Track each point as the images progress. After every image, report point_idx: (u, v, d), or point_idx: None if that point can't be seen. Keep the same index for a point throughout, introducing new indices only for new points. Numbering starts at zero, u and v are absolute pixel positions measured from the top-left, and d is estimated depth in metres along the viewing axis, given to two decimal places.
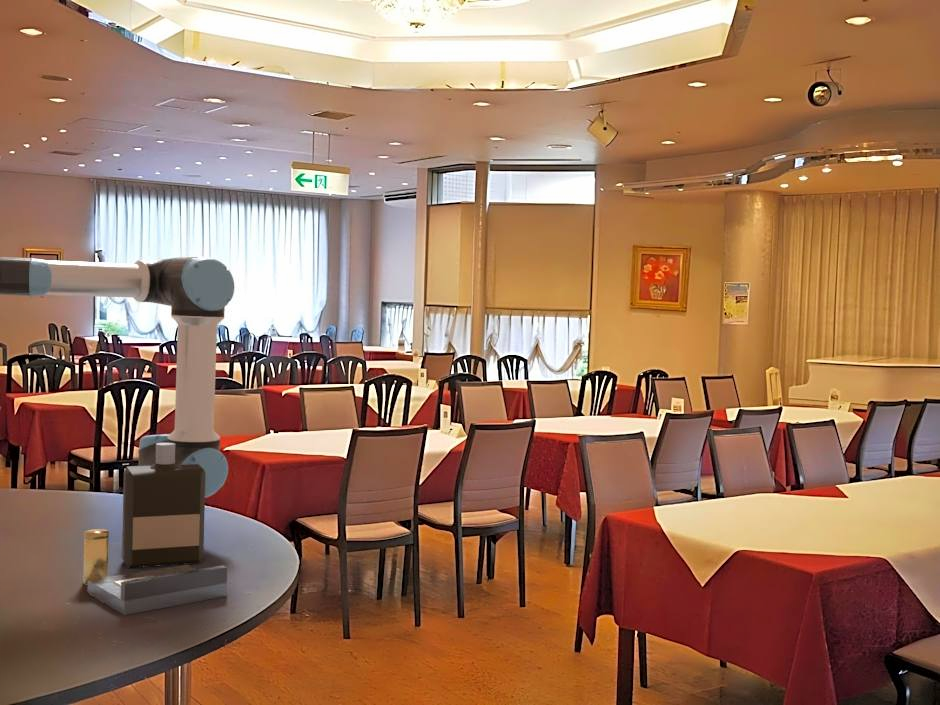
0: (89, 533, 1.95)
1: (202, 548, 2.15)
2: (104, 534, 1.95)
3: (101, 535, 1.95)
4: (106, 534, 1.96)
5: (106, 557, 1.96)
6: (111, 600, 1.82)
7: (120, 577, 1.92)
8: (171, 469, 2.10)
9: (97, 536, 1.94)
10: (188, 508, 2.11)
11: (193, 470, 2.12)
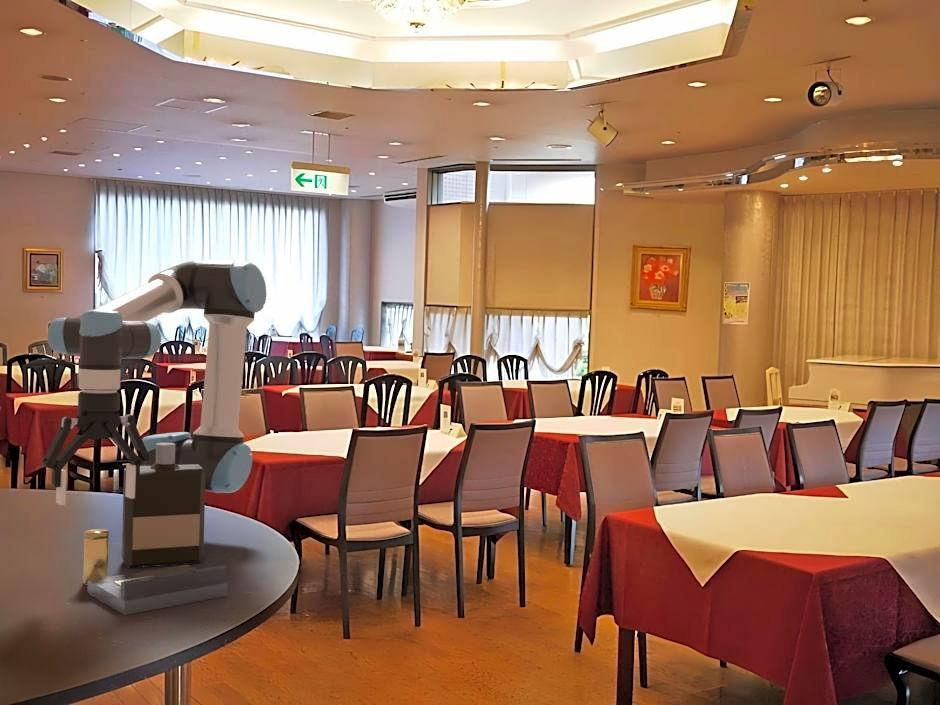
0: (89, 533, 1.95)
1: (202, 548, 2.15)
2: (104, 534, 1.95)
3: (101, 535, 1.95)
4: (106, 534, 1.96)
5: (106, 557, 1.96)
6: (111, 600, 1.82)
7: (120, 577, 1.92)
8: (171, 469, 2.10)
9: (97, 536, 1.94)
10: (188, 508, 2.11)
11: (193, 470, 2.12)
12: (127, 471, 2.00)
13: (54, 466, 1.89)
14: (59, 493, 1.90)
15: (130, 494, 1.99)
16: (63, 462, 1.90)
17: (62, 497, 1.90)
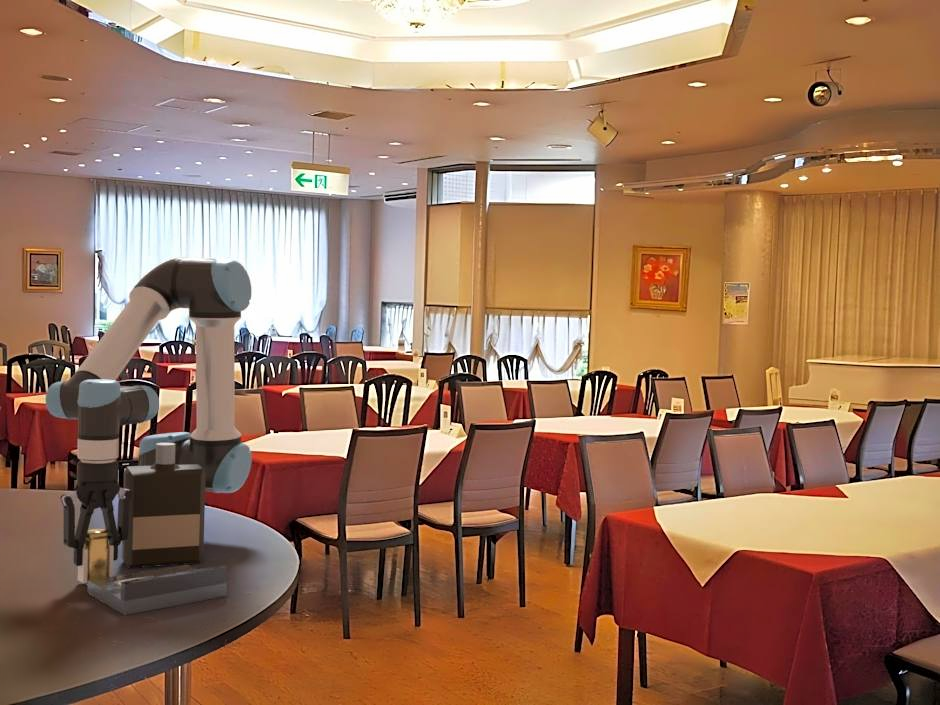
0: (89, 533, 1.95)
1: (202, 548, 2.15)
2: (104, 534, 1.95)
3: (101, 535, 1.95)
4: (106, 534, 1.96)
5: (106, 557, 1.96)
6: (111, 600, 1.82)
7: (120, 577, 1.92)
8: (171, 469, 2.10)
9: (97, 536, 1.94)
10: (188, 508, 2.11)
11: (193, 470, 2.12)
12: None
13: (76, 547, 1.93)
14: (81, 571, 1.94)
15: (108, 574, 1.97)
16: (82, 540, 1.93)
17: (84, 575, 1.94)
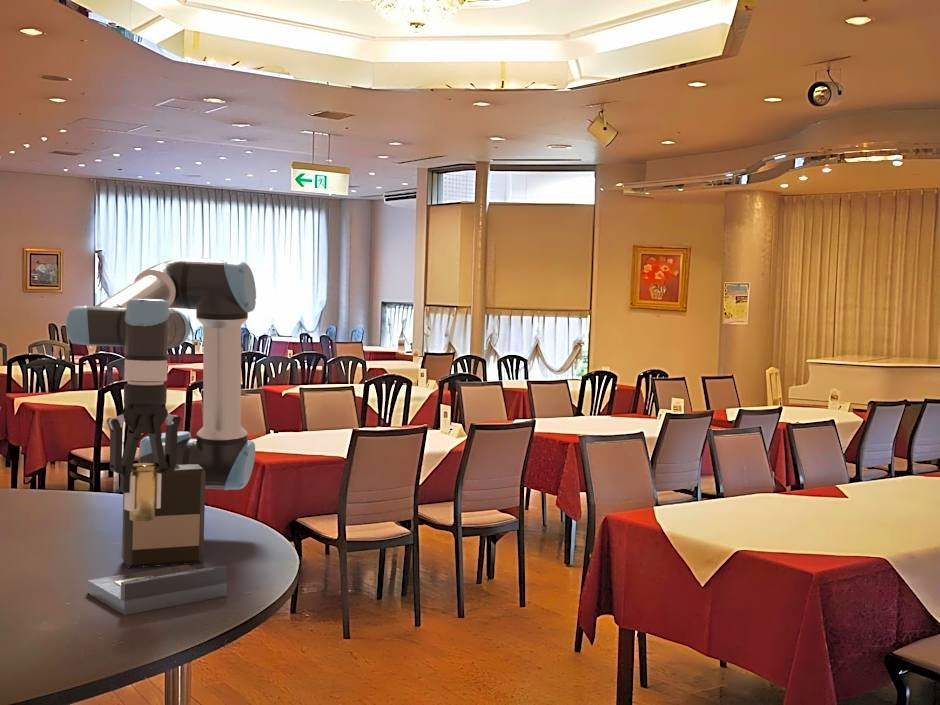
0: (136, 466, 1.86)
1: (202, 548, 2.15)
2: (152, 467, 1.86)
3: (149, 468, 1.86)
4: (154, 467, 1.87)
5: (154, 491, 1.87)
6: (111, 600, 1.82)
7: (120, 577, 1.92)
8: (171, 469, 2.10)
9: (145, 469, 1.85)
10: (188, 508, 2.11)
11: (193, 470, 2.12)
12: None
13: (123, 473, 1.84)
14: (128, 499, 1.85)
15: (155, 504, 1.88)
16: (129, 466, 1.84)
17: (131, 503, 1.85)
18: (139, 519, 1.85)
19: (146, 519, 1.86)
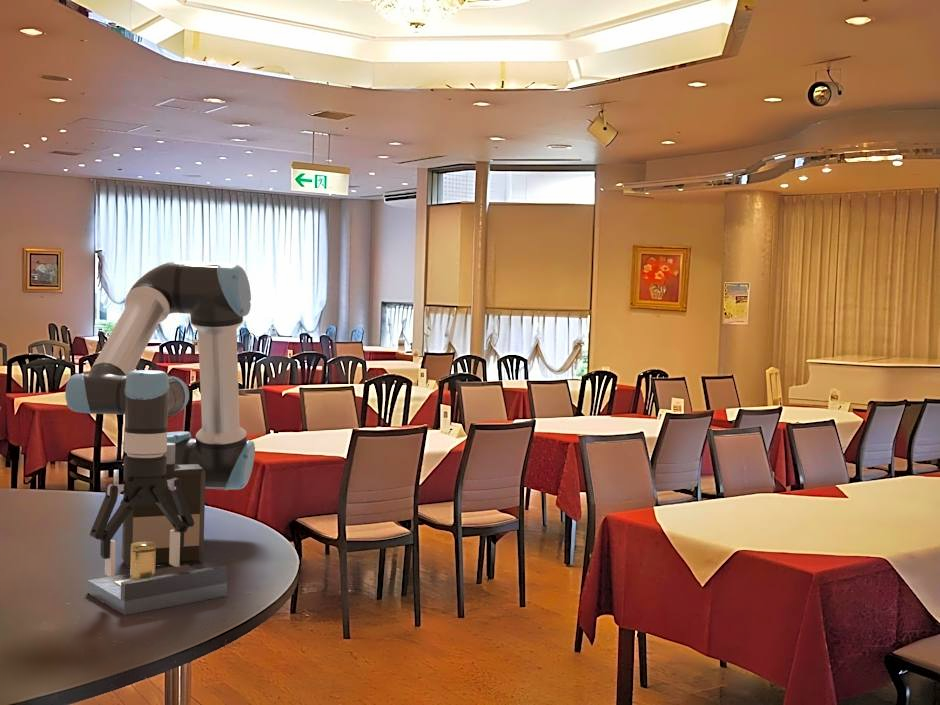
0: (136, 546, 1.86)
1: (202, 548, 2.15)
2: (152, 547, 1.87)
3: (149, 548, 1.86)
4: (154, 547, 1.88)
5: (153, 571, 1.88)
6: (111, 600, 1.82)
7: (120, 577, 1.92)
8: (171, 469, 2.10)
9: (145, 549, 1.86)
10: None
11: (193, 470, 2.12)
12: (171, 538, 1.92)
13: (103, 537, 1.82)
14: (108, 564, 1.83)
15: (174, 562, 1.92)
16: (112, 532, 1.83)
17: (111, 569, 1.83)
18: None
19: None
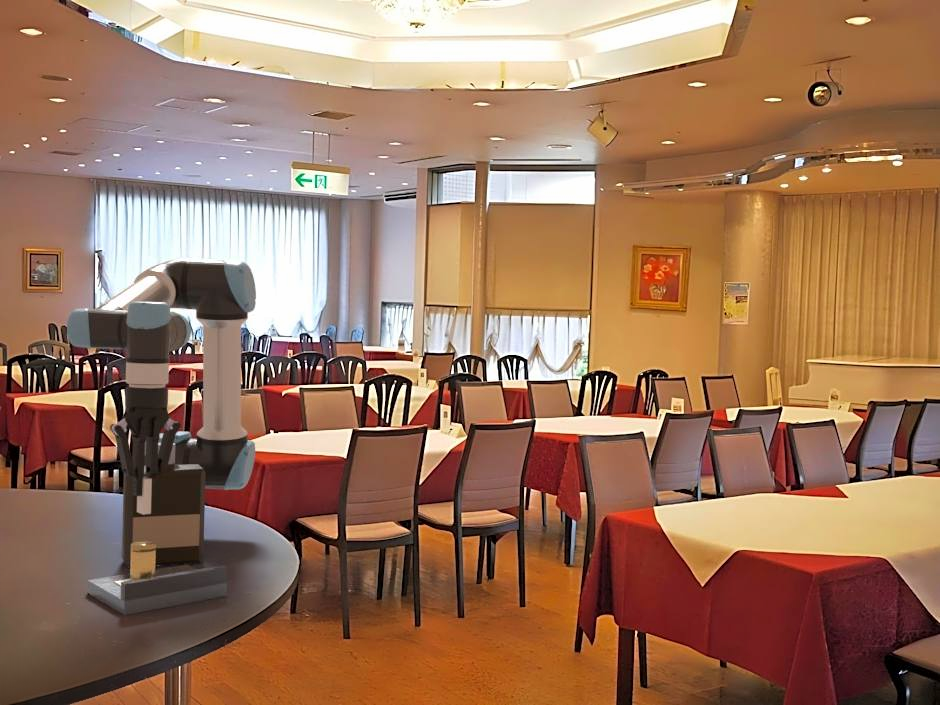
0: (136, 546, 1.87)
1: (202, 548, 2.15)
2: (152, 547, 1.87)
3: (149, 548, 1.87)
4: (154, 547, 1.88)
5: (153, 571, 1.88)
6: (111, 600, 1.82)
7: (120, 577, 1.92)
8: (171, 469, 2.10)
9: (145, 549, 1.86)
10: (188, 508, 2.11)
11: (193, 470, 2.12)
12: None
13: (136, 477, 1.85)
14: (140, 502, 1.87)
15: None
16: (141, 469, 1.85)
17: (144, 506, 1.86)
18: None
19: None
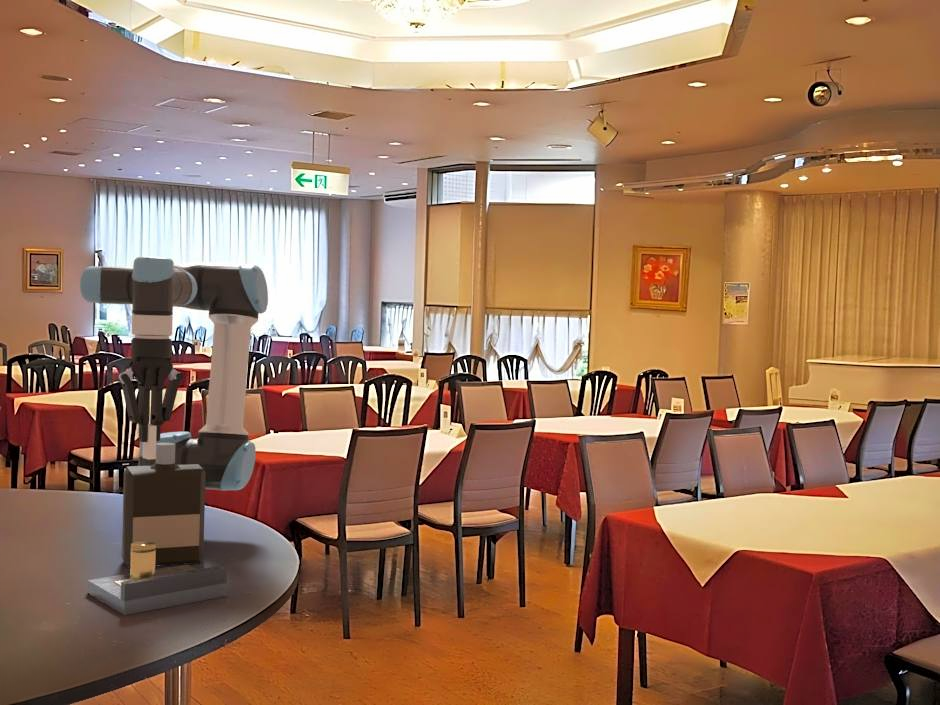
0: (136, 546, 1.86)
1: (202, 548, 2.15)
2: (152, 547, 1.87)
3: (149, 548, 1.86)
4: (154, 547, 1.87)
5: (153, 571, 1.88)
6: (111, 600, 1.82)
7: (120, 577, 1.92)
8: (171, 469, 2.10)
9: (145, 549, 1.86)
10: (188, 508, 2.11)
11: (193, 470, 2.12)
12: None
13: (142, 424, 1.95)
14: (146, 447, 1.96)
15: None
16: (146, 416, 1.95)
17: (149, 451, 1.96)
18: None
19: None
